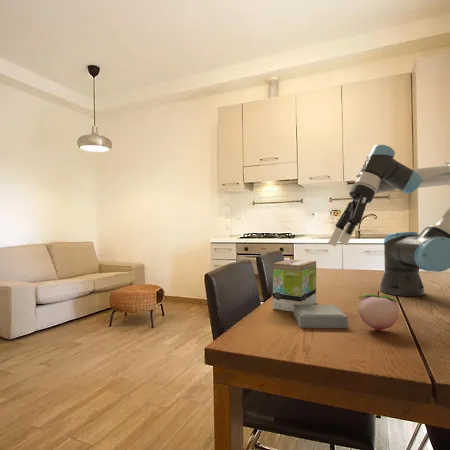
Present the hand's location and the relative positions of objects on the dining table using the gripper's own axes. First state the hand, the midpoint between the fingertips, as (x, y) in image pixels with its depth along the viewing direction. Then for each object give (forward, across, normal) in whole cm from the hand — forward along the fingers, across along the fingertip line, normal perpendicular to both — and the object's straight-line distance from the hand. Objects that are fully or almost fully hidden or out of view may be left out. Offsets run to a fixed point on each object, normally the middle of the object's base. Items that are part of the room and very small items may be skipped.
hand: (336, 244), depth 106 cm
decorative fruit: (+19, +25, +13) cm, 34 cm away
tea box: (+25, +1, -3) cm, 25 cm away
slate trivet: (+24, +17, +1) cm, 30 cm away
